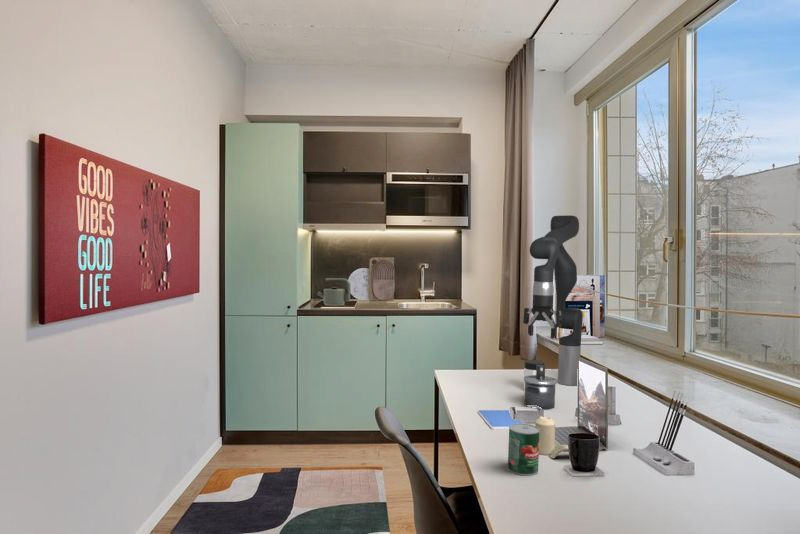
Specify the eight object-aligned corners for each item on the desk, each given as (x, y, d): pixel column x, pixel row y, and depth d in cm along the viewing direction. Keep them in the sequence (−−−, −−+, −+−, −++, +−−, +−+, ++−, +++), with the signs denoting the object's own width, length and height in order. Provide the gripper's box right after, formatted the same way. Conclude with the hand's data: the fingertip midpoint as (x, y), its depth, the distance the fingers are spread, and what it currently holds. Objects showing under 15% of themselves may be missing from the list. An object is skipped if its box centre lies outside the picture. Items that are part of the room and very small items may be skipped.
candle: (554, 449, 157) (555, 415, 156) (553, 456, 151) (554, 421, 151) (535, 447, 158) (536, 413, 158) (533, 453, 153) (534, 418, 153)
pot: (534, 398, 212) (535, 375, 212) (561, 404, 205) (562, 380, 205) (516, 406, 200) (517, 382, 199) (544, 412, 193) (545, 387, 193)
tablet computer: (476, 413, 193) (476, 409, 193) (510, 412, 194) (511, 409, 194) (491, 431, 173) (491, 427, 173) (529, 430, 175) (529, 426, 175)
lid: (532, 376, 211) (532, 361, 210) (562, 381, 203) (562, 365, 203) (518, 381, 201) (518, 365, 201) (548, 387, 194) (549, 370, 194)
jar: (548, 391, 223) (549, 362, 223) (536, 394, 218) (537, 365, 218) (530, 387, 230) (531, 359, 230) (518, 389, 225) (519, 361, 225)
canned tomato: (533, 478, 136) (535, 435, 136) (503, 471, 140) (504, 429, 140) (541, 467, 143) (543, 426, 143) (512, 461, 147) (514, 421, 147)
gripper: (565, 294, 200) (564, 338, 200) (529, 292, 208) (528, 333, 209) (557, 295, 194) (556, 340, 194) (521, 292, 203) (519, 335, 203)
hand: (541, 336), depth 202 cm, fingers open, 8 cm apart
